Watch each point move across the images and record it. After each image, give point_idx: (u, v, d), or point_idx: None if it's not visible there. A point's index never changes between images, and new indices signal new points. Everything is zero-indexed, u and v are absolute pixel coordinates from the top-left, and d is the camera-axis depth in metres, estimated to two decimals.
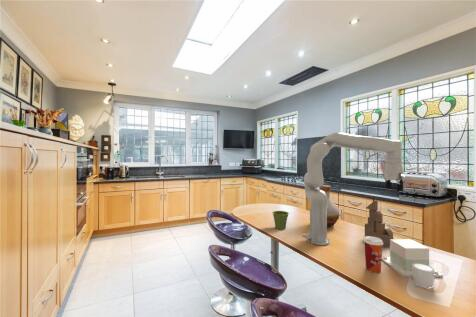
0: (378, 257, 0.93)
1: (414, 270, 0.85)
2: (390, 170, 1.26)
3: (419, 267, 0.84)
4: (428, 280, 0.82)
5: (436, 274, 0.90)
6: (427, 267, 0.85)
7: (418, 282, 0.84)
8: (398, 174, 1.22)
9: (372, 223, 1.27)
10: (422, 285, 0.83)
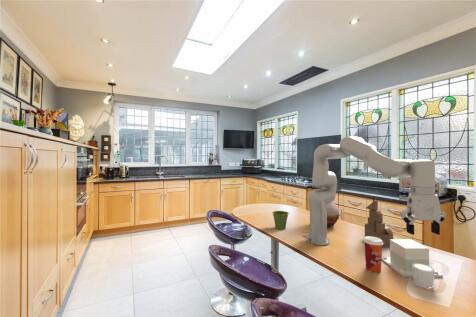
0: (378, 257, 0.93)
1: (414, 270, 0.85)
2: (431, 206, 0.82)
3: (419, 267, 0.84)
4: (428, 280, 0.82)
5: (436, 274, 0.90)
6: (427, 267, 0.85)
7: (418, 282, 0.84)
8: None
9: (372, 223, 1.27)
10: (422, 285, 0.83)
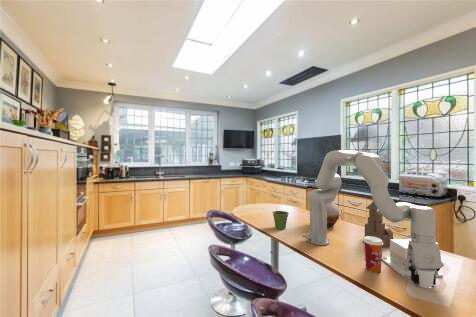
0: (378, 257, 0.93)
1: None
2: (431, 254, 0.82)
3: None
4: (428, 280, 0.82)
5: None
6: None
7: None
8: None
9: (372, 223, 1.27)
10: (422, 285, 0.83)
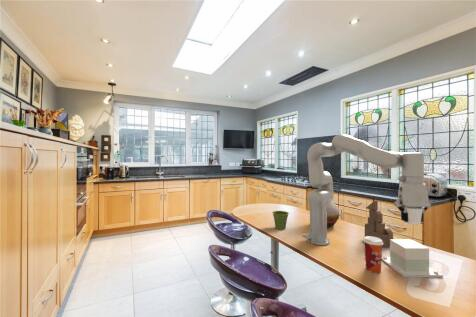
0: (378, 257, 0.93)
1: None
2: (419, 194, 0.90)
3: (408, 207, 0.93)
4: (416, 217, 0.90)
5: (436, 274, 0.90)
6: (416, 207, 0.93)
7: None
8: None
9: (372, 223, 1.27)
10: (411, 222, 0.91)
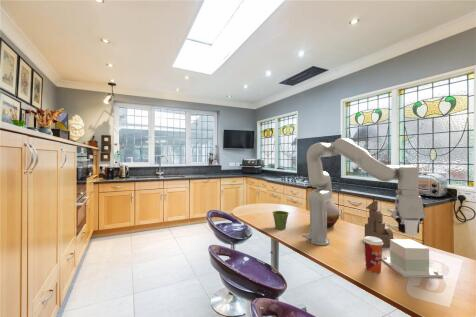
0: (378, 257, 0.93)
1: None
2: (415, 206, 0.95)
3: None
4: (412, 228, 0.95)
5: (436, 274, 0.90)
6: None
7: None
8: None
9: (372, 223, 1.27)
10: (407, 233, 0.95)
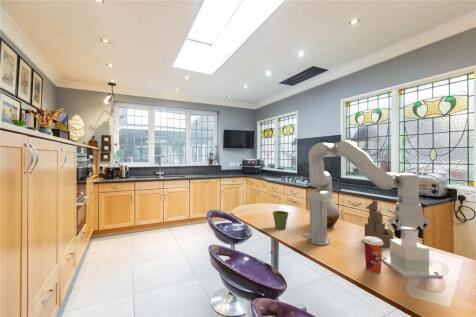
0: (378, 257, 0.93)
1: (401, 231, 0.98)
2: (415, 214, 0.95)
3: (405, 229, 0.97)
4: (413, 238, 0.95)
5: (436, 274, 0.90)
6: (412, 228, 0.98)
7: (404, 241, 0.97)
8: None
9: (372, 223, 1.27)
10: (408, 243, 0.96)
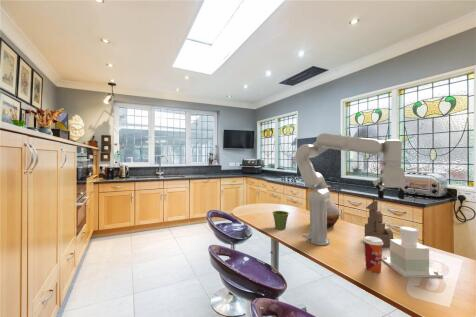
0: (378, 257, 0.93)
1: (401, 231, 0.98)
2: (397, 176, 1.03)
3: (405, 229, 0.97)
4: (413, 238, 0.95)
5: (436, 274, 0.90)
6: (412, 228, 0.98)
7: (404, 241, 0.97)
8: None
9: (372, 223, 1.27)
10: (408, 243, 0.96)
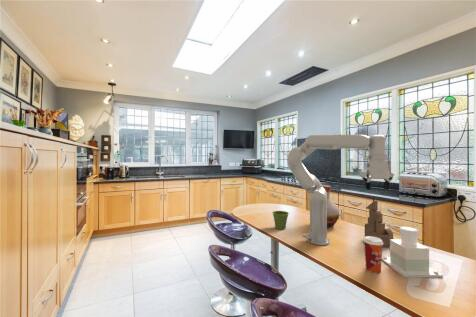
0: (378, 257, 0.93)
1: (401, 231, 0.98)
2: (382, 168, 1.13)
3: (405, 229, 0.97)
4: (413, 238, 0.95)
5: (436, 274, 0.90)
6: (412, 228, 0.98)
7: (404, 241, 0.97)
8: None
9: (372, 223, 1.27)
10: (408, 243, 0.96)
